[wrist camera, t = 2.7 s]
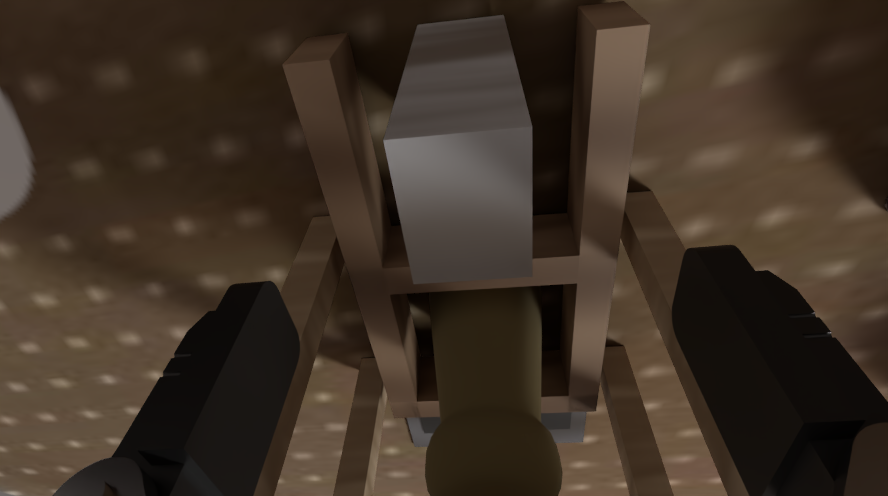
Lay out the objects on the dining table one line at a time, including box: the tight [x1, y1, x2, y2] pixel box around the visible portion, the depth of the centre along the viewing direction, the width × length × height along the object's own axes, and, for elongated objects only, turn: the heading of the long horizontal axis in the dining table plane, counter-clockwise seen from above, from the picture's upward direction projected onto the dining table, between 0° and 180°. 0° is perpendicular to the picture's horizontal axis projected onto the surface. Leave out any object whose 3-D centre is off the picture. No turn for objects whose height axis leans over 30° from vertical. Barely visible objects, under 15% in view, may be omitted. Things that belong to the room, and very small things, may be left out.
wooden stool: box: [253, 191, 749, 496], centre depth 22 cm, size 21×17×16 cm
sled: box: [282, 1, 650, 418], centre depth 19 cm, size 20×11×9 cm, turn 7°
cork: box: [425, 286, 562, 496], centre depth 21 cm, size 6×6×11 cm
